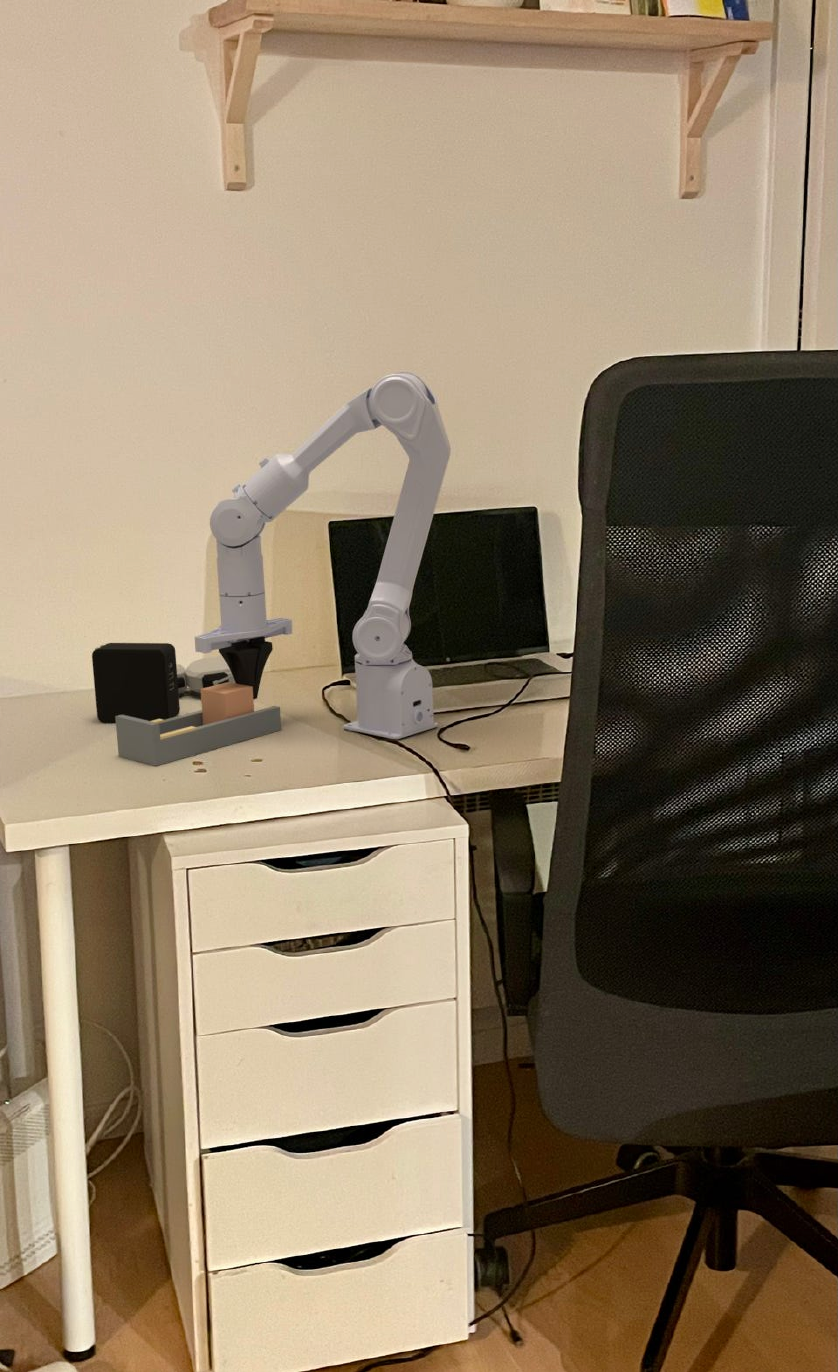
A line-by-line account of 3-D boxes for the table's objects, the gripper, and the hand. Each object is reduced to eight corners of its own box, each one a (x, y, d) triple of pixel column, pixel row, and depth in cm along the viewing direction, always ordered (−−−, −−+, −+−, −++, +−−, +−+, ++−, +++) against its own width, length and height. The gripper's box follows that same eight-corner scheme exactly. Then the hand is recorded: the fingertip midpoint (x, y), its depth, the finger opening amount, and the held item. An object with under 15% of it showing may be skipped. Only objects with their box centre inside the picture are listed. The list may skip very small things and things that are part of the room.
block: (231, 720, 194) (228, 681, 193) (255, 725, 191) (252, 686, 190) (203, 727, 191) (200, 689, 189) (227, 733, 187) (224, 694, 186)
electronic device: (169, 724, 197) (163, 649, 195) (97, 723, 199) (90, 649, 197) (180, 716, 201) (175, 643, 199) (110, 715, 203) (103, 642, 201)
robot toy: (139, 714, 207) (248, 698, 209) (134, 682, 206) (244, 666, 208) (142, 693, 219) (245, 679, 221) (137, 663, 218) (241, 649, 220)
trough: (243, 721, 197) (241, 684, 196) (281, 729, 192) (279, 691, 191) (118, 756, 183) (115, 716, 182) (155, 766, 178) (152, 725, 177)
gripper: (264, 581, 197) (270, 683, 200) (176, 598, 187) (183, 705, 190) (301, 586, 192) (306, 690, 196) (213, 604, 182) (220, 713, 185)
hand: (248, 698), depth 192 cm, fingers closed
